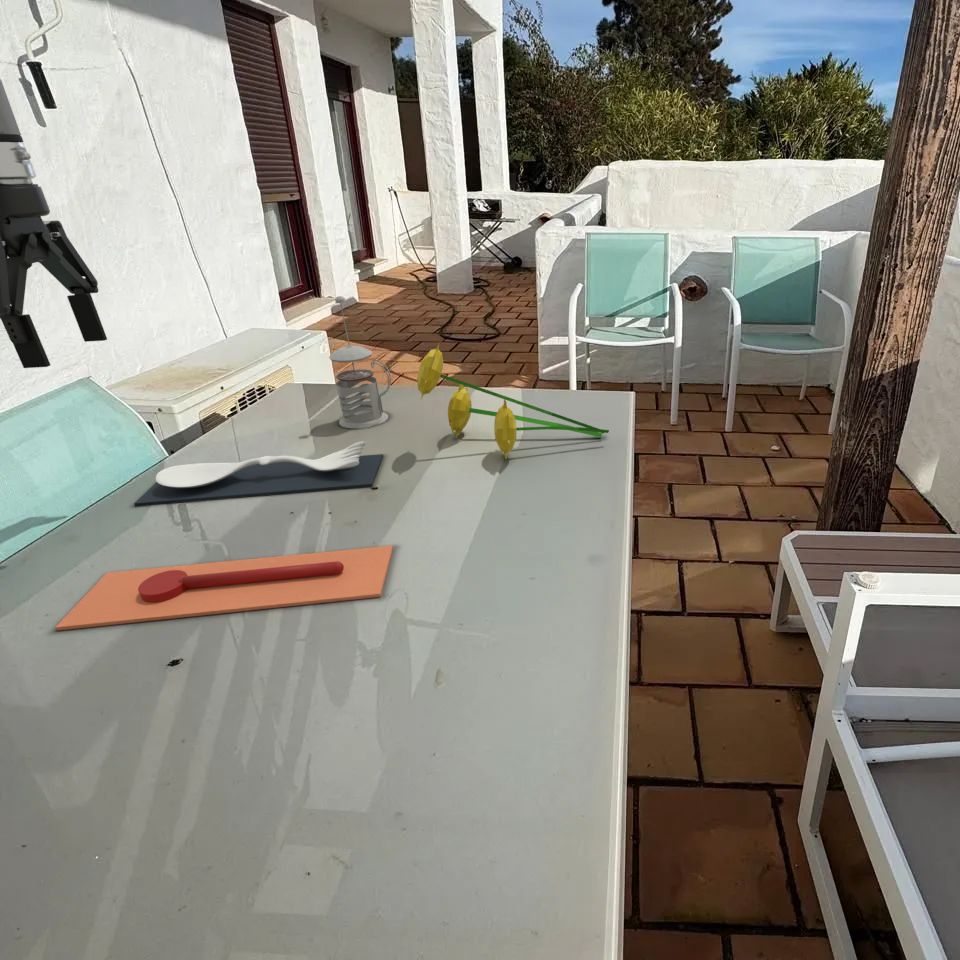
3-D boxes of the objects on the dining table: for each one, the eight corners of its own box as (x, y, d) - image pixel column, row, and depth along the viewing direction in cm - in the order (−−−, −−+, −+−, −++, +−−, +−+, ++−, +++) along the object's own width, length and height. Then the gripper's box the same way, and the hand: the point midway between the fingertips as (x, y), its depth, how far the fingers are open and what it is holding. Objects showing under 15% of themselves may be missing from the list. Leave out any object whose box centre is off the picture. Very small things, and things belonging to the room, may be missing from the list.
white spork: (362, 478, 105) (358, 459, 104) (150, 499, 100) (143, 480, 98) (368, 456, 113) (365, 438, 112) (173, 474, 108) (166, 456, 106)
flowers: (593, 410, 132) (428, 351, 123) (626, 400, 111) (429, 328, 102) (570, 484, 132) (402, 430, 122) (599, 488, 110) (398, 424, 101)
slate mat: (135, 506, 99) (133, 503, 99) (169, 473, 110) (168, 470, 110) (372, 486, 104) (371, 483, 104) (383, 456, 114) (383, 454, 114)
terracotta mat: (56, 630, 73) (54, 627, 72) (108, 575, 82) (106, 572, 82) (380, 597, 77) (379, 593, 77) (393, 548, 87) (392, 545, 87)
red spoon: (132, 605, 76) (128, 594, 75) (153, 579, 80) (149, 569, 80) (340, 584, 79) (337, 573, 78) (348, 560, 83) (346, 550, 83)
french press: (345, 412, 135) (320, 292, 124) (400, 409, 136) (380, 290, 125) (333, 429, 126) (304, 302, 115) (392, 426, 127) (370, 299, 116)
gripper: (-42, 184, 67) (41, 378, 77) (90, 179, 89) (142, 330, 99) (-122, 186, 66) (-28, 382, 76) (31, 180, 88) (89, 332, 98)
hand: (68, 353), depth 87 cm, fingers open, 13 cm apart
